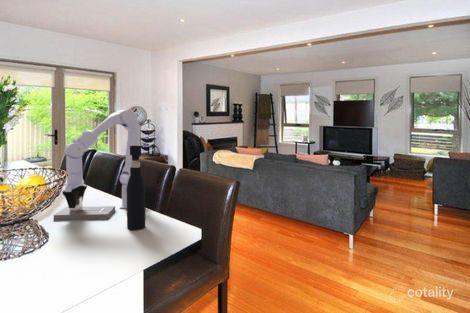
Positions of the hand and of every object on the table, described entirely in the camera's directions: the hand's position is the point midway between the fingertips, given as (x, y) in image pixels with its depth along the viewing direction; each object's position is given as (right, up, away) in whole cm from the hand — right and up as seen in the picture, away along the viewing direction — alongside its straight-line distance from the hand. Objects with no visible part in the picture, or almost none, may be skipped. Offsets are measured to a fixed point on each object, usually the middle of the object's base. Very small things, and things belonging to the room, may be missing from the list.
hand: (75, 205), depth 124 cm
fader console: (+4, -4, +1) cm, 6 cm away
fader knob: (0, -2, 0) cm, 2 cm away
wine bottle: (+29, -6, -13) cm, 32 cm away
